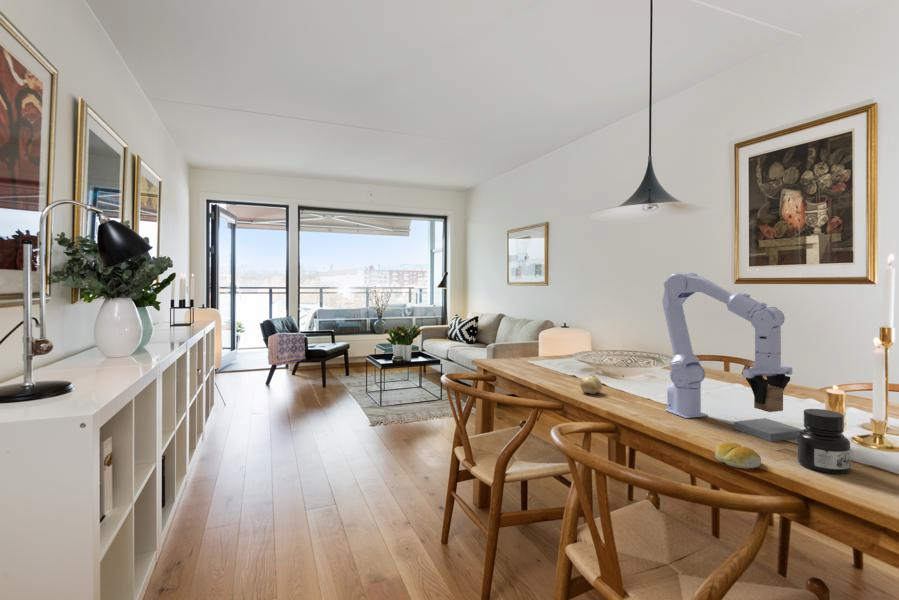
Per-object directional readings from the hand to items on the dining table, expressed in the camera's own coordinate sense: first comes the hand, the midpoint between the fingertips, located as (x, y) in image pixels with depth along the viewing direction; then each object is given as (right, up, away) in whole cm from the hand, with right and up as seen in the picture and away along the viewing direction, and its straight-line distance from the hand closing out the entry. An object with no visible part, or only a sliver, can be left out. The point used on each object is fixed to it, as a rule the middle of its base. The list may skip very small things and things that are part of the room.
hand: (767, 402), depth 122 cm
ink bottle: (-4, -9, -22) cm, 24 cm away
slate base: (0, -8, 0) cm, 8 cm away
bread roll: (-20, -10, -18) cm, 29 cm away
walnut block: (0, -2, 0) cm, 2 cm away
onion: (-32, -8, +49) cm, 59 cm away
